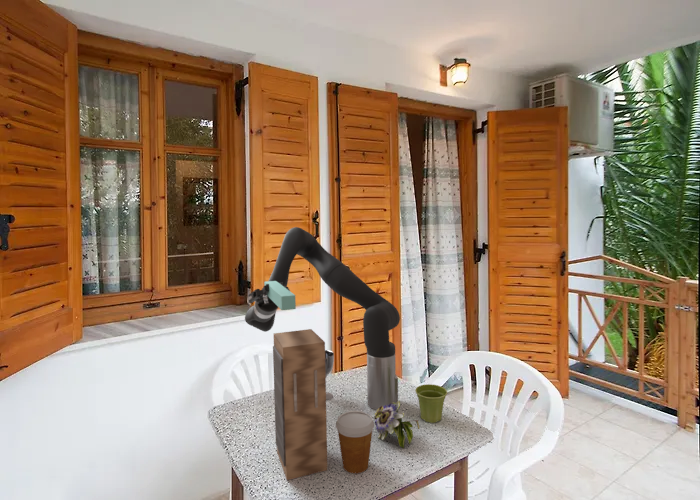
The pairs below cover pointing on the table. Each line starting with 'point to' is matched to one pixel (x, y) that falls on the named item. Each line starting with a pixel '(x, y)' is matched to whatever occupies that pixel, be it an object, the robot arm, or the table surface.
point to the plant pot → (431, 401)
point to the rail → (281, 296)
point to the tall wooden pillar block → (300, 402)
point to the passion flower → (393, 423)
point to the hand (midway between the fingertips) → (275, 286)
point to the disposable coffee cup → (355, 440)
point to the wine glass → (328, 368)
